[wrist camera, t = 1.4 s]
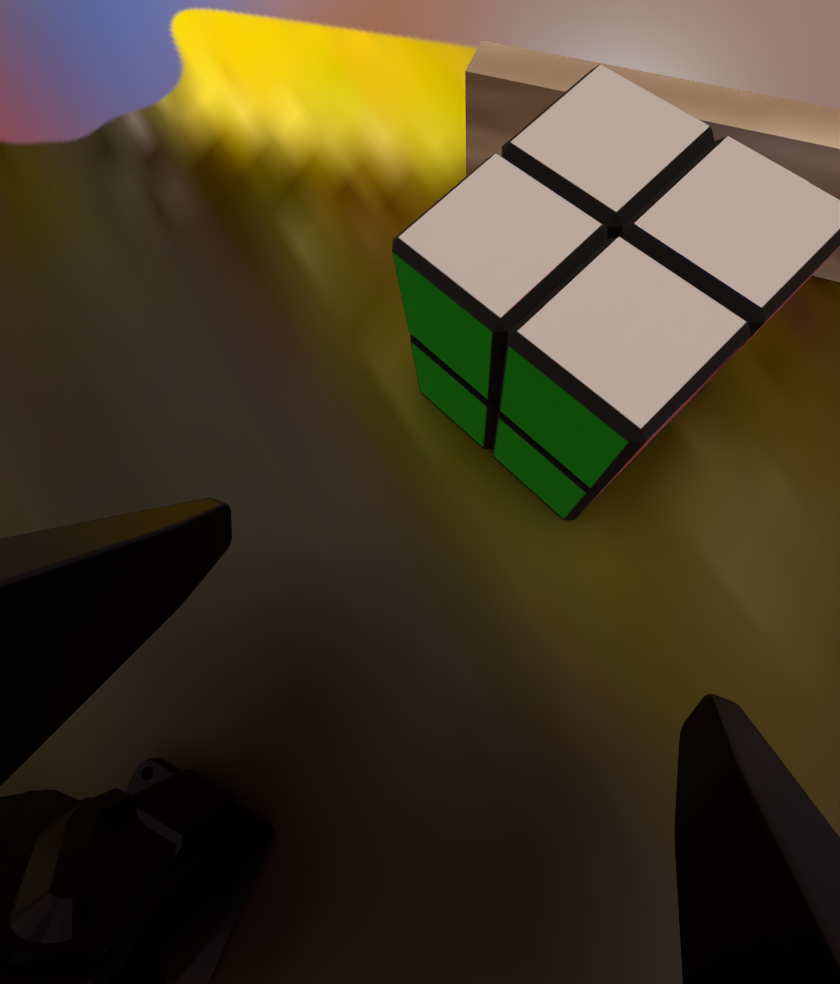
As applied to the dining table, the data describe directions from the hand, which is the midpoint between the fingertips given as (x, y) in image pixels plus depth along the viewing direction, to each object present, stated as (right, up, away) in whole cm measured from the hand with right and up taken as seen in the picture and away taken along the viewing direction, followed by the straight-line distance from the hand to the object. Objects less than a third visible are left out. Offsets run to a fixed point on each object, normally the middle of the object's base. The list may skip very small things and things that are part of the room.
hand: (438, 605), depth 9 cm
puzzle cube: (+7, +7, +16) cm, 18 cm away
